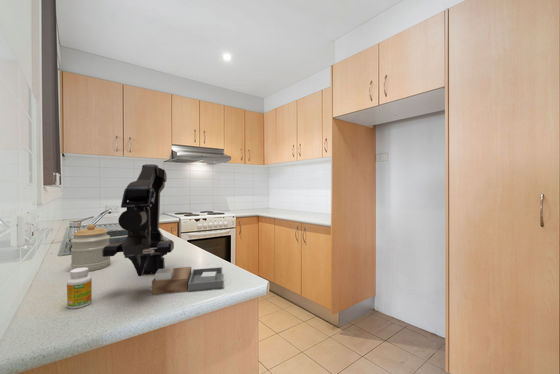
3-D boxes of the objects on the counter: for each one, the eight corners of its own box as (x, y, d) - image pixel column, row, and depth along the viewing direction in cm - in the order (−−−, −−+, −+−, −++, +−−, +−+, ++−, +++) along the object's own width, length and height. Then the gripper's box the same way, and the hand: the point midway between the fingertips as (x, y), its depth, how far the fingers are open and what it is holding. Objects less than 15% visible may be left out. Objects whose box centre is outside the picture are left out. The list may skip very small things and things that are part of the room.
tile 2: (155, 280, 78) (155, 273, 78) (158, 275, 83) (158, 269, 83) (171, 279, 79) (171, 272, 79) (173, 274, 84) (173, 268, 84)
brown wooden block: (152, 294, 77) (151, 281, 77) (161, 280, 89) (160, 268, 89) (187, 291, 80) (187, 278, 80) (191, 277, 91) (191, 266, 91)
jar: (86, 274, 96) (85, 227, 96) (62, 270, 100) (62, 225, 100) (118, 264, 109) (117, 222, 108) (96, 261, 113) (95, 221, 113)
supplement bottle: (72, 311, 68) (71, 274, 68) (63, 306, 70) (63, 270, 70) (95, 303, 72) (94, 268, 72) (86, 298, 75) (86, 265, 75)
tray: (188, 291, 79) (187, 283, 79) (192, 276, 93) (192, 269, 93) (222, 288, 82) (222, 280, 82) (222, 273, 95) (222, 267, 95)
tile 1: (214, 275, 86) (214, 281, 86) (216, 271, 90) (216, 277, 90) (200, 276, 85) (200, 282, 85) (203, 272, 90) (203, 277, 90)
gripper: (92, 231, 69) (93, 289, 69) (167, 228, 74) (167, 282, 74) (110, 225, 80) (110, 275, 80) (173, 222, 84) (174, 270, 85)
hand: (140, 275), depth 79 cm, fingers closed
